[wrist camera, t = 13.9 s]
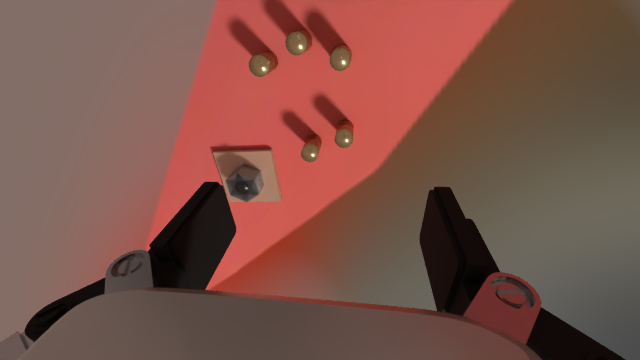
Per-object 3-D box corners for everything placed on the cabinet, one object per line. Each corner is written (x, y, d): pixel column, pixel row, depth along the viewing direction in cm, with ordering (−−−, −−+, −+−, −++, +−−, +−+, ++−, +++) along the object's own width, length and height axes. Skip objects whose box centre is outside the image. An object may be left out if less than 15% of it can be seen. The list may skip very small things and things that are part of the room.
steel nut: (230, 163, 44) (222, 173, 41) (258, 162, 43) (252, 172, 41) (239, 192, 47) (232, 202, 44) (266, 191, 46) (260, 202, 44)
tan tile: (215, 150, 44) (212, 152, 43) (272, 148, 42) (270, 151, 42) (230, 199, 49) (228, 201, 48) (282, 199, 48) (281, 201, 47)
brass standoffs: (255, 34, 34) (242, 36, 30) (350, 25, 32) (349, 26, 28) (277, 149, 42) (269, 162, 39) (353, 147, 41) (353, 160, 37)
